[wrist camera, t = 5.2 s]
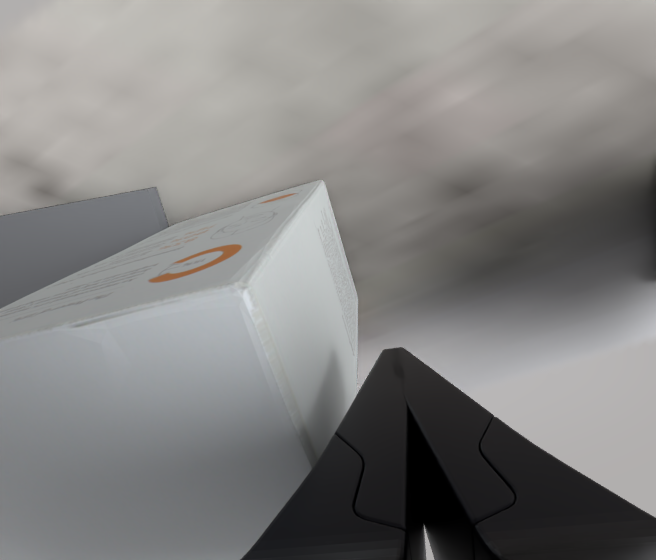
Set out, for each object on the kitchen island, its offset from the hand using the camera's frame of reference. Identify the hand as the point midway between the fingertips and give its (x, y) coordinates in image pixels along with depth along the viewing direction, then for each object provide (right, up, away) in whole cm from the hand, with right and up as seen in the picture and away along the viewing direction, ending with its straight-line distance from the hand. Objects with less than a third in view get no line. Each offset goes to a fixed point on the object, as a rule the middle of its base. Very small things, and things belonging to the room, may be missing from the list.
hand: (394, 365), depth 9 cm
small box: (-5, +3, +10) cm, 12 cm away
